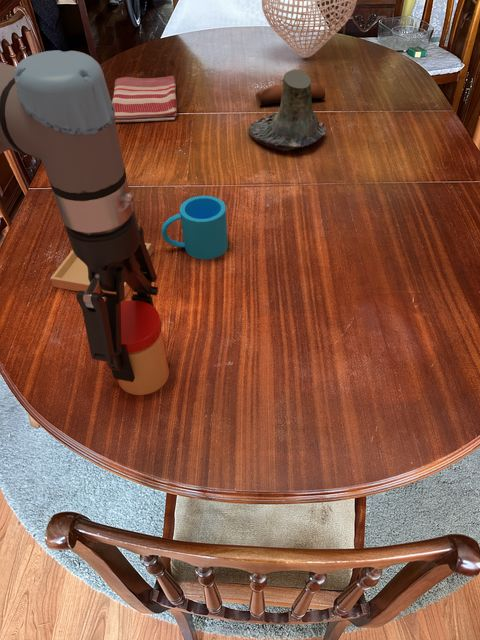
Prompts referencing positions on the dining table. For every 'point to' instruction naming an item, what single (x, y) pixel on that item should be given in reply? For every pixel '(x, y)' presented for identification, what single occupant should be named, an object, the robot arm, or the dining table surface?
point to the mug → (201, 227)
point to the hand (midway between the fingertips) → (137, 352)
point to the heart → (324, 40)
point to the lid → (139, 325)
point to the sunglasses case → (275, 94)
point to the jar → (147, 370)
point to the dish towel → (144, 99)
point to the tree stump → (290, 117)
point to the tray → (79, 274)
